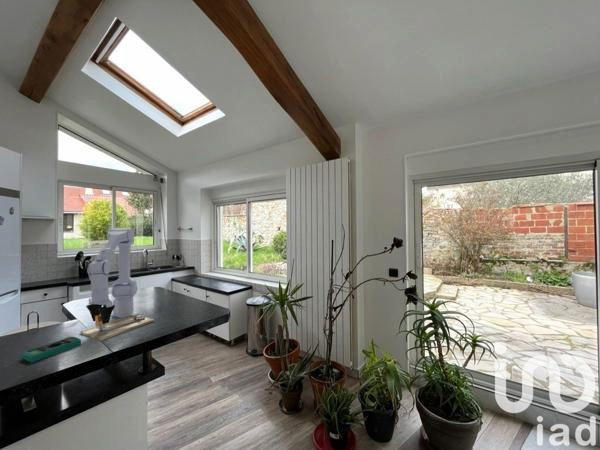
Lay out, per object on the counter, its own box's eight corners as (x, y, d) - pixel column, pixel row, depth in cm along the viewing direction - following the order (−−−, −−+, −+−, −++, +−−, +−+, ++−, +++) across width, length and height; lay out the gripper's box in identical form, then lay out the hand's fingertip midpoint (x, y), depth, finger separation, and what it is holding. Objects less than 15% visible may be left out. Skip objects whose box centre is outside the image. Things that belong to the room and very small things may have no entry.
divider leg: (95, 331, 111) (94, 315, 111) (103, 328, 114) (103, 313, 114) (102, 333, 108) (102, 317, 108) (111, 330, 111) (110, 315, 111)
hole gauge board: (80, 333, 112) (80, 325, 112) (133, 316, 131) (133, 309, 131) (100, 340, 104) (100, 331, 104) (153, 321, 124) (153, 313, 124)
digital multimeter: (83, 345, 101) (83, 337, 101) (30, 364, 88) (30, 355, 88) (73, 342, 105) (73, 334, 105) (21, 360, 91) (21, 351, 91)
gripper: (79, 290, 111) (81, 322, 111) (98, 293, 104) (99, 328, 105) (99, 286, 117) (100, 316, 118) (117, 289, 111) (118, 321, 111)
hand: (101, 321), depth 111 cm, fingers open, 7 cm apart
